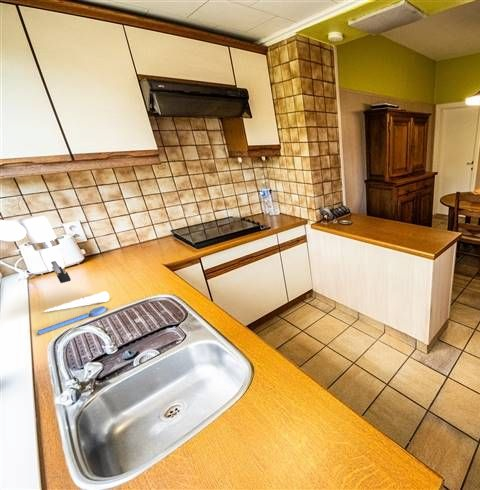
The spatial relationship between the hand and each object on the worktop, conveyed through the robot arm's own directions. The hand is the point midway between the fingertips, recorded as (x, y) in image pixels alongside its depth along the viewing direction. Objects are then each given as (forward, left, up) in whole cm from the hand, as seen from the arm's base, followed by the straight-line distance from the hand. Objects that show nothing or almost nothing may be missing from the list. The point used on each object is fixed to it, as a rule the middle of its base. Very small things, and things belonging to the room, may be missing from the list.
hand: (65, 281), depth 121 cm
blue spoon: (-1, -24, -10) cm, 26 cm away
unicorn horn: (+1, -10, -10) cm, 14 cm away
